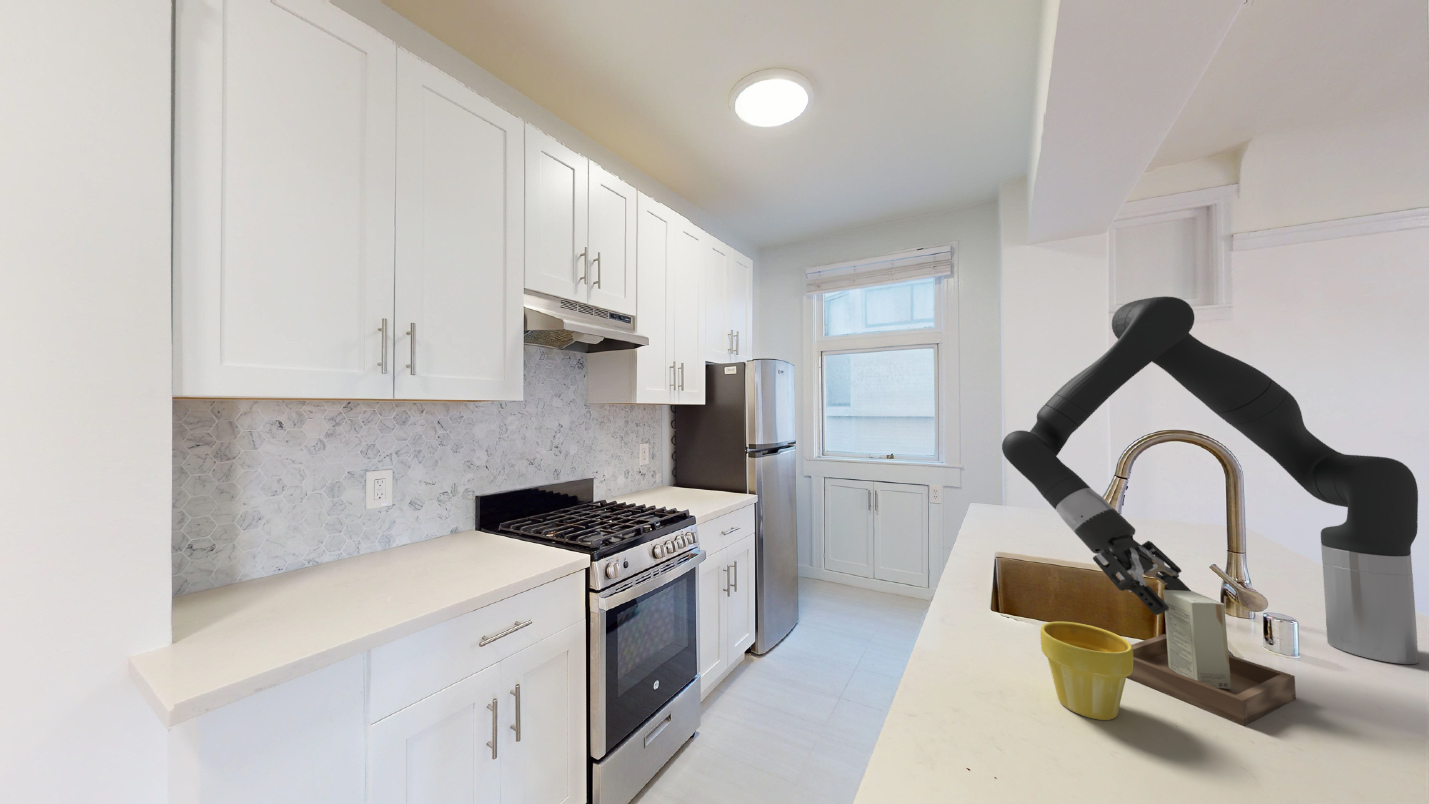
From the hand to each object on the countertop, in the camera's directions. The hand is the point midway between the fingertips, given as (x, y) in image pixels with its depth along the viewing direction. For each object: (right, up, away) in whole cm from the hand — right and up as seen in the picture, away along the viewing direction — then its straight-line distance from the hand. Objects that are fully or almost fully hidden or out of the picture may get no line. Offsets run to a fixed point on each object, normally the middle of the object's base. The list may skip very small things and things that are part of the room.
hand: (1178, 607), depth 75 cm
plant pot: (-20, -11, -7) cm, 24 cm away
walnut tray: (+1, -11, -2) cm, 11 cm away
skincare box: (+1, -10, -2) cm, 10 cm away
